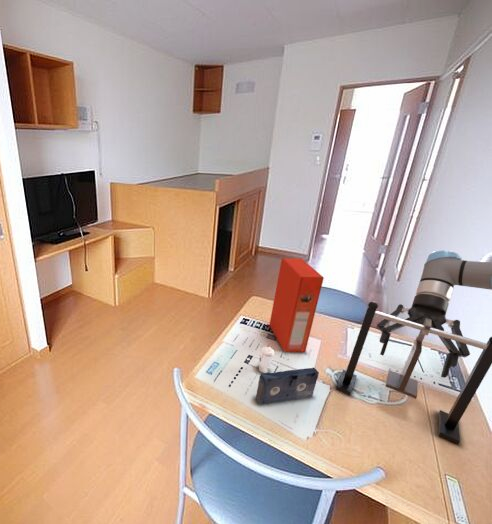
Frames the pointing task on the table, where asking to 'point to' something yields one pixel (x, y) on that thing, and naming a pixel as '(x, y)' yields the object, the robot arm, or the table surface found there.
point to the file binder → (295, 303)
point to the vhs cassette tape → (286, 385)
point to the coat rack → (446, 422)
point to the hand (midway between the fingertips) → (411, 364)
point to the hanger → (409, 367)
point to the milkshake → (265, 358)
